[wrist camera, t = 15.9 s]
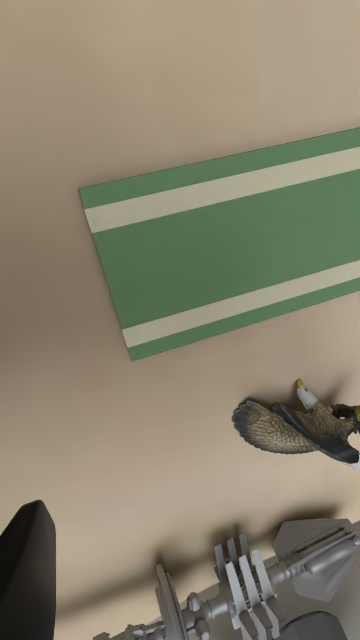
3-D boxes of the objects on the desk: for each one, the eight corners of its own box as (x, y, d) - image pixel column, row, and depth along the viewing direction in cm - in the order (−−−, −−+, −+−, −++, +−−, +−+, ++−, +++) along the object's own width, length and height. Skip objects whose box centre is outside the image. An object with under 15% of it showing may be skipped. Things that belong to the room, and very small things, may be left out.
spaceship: (-194, 817, 14) (-156, 997, 14) (385, 508, 24) (412, 610, 23) (-92, 650, 21) (-67, 765, 21) (314, 469, 31) (334, 546, 31)
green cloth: (130, 357, 19) (131, 362, 19) (78, 189, 16) (77, 188, 15) (396, 275, 22) (405, 276, 22) (402, 118, 19) (413, 115, 18)
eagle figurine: (359, 345, 22) (257, 372, 19) (441, 442, 18) (332, 499, 15) (304, 394, 28) (219, 422, 24) (358, 476, 24) (265, 523, 20)
